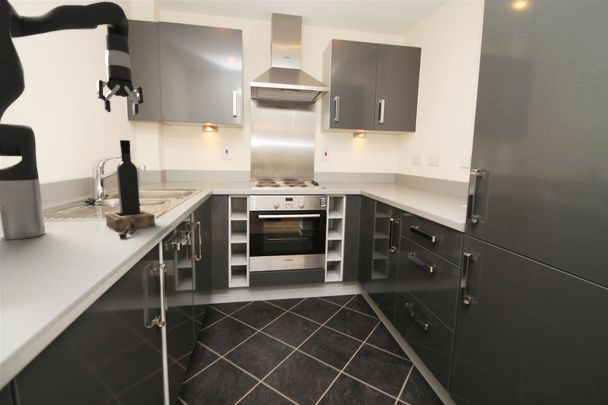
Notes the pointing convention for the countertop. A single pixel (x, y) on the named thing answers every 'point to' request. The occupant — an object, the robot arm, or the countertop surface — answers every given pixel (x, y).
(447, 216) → the countertop surface
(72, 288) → the countertop surface
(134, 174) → the wine bottle
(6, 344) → the countertop surface
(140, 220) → the square wooden picture frame
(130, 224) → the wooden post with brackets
